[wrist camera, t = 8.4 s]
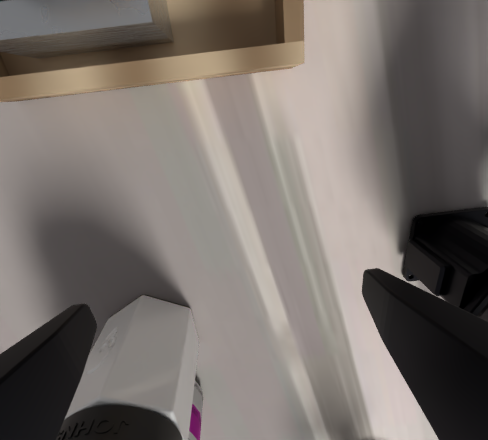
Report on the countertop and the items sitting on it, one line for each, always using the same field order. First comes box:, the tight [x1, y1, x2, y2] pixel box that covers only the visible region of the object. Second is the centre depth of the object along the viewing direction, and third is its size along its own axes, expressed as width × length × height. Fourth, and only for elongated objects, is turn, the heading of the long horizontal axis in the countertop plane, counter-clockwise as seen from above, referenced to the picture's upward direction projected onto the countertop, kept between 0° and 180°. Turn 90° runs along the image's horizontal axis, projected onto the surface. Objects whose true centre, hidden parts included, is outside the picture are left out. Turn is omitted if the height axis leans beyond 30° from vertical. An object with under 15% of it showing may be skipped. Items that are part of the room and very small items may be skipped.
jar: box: [56, 295, 199, 440], centre depth 21 cm, size 9×8×12 cm
